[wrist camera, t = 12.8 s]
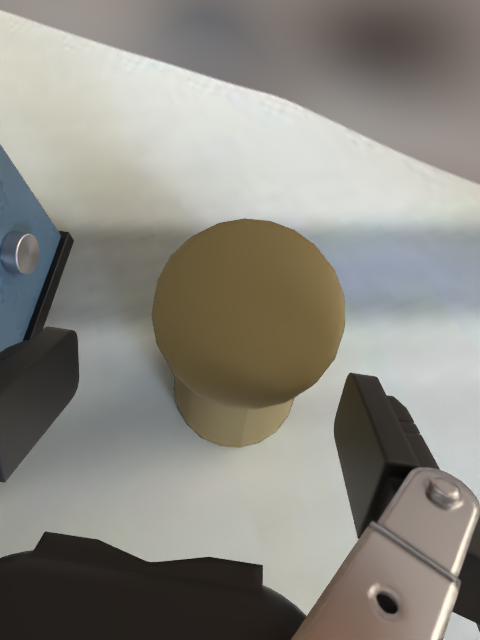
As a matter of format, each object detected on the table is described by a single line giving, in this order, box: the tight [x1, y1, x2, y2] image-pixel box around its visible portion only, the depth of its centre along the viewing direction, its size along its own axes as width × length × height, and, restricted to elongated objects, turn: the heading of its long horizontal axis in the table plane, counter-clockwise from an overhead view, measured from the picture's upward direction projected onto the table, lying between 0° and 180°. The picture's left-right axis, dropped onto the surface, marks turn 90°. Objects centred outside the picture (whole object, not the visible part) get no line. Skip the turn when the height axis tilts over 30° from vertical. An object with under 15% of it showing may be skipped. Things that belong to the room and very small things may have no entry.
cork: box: [152, 219, 345, 447], centre depth 14 cm, size 6×6×11 cm
